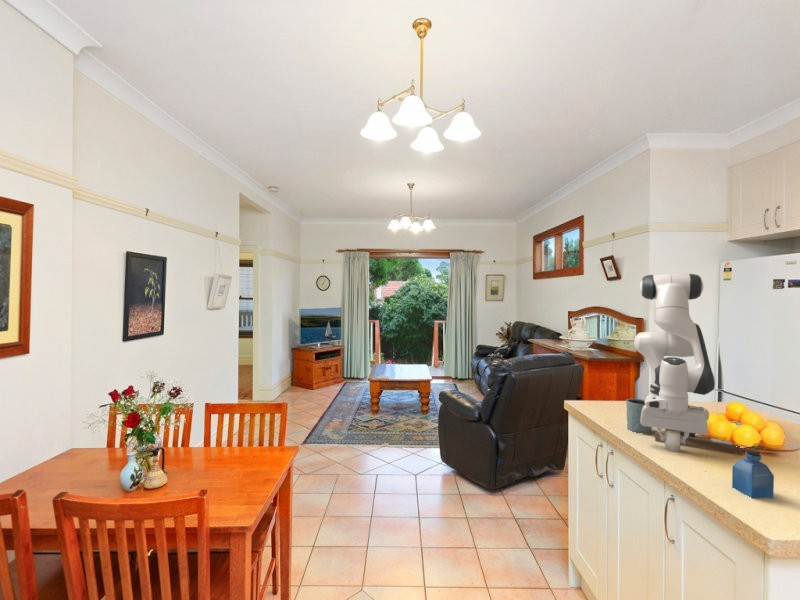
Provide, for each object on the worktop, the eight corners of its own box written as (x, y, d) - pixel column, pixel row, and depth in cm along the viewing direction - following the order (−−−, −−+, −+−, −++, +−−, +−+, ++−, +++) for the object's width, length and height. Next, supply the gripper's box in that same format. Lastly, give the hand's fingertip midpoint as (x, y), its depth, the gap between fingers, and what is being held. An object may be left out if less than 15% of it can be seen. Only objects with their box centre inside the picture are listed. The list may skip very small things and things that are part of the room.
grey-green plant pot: (623, 425, 175) (624, 397, 175) (650, 428, 172) (651, 399, 171) (628, 433, 165) (629, 403, 165) (657, 436, 162) (658, 405, 162)
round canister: (664, 446, 151) (664, 427, 151) (679, 448, 148) (679, 429, 148) (665, 450, 147) (665, 430, 147) (680, 452, 145) (680, 432, 145)
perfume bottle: (753, 487, 118) (753, 446, 118) (773, 498, 112) (774, 454, 112) (732, 487, 118) (732, 445, 118) (751, 498, 112) (752, 454, 112)
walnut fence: (655, 439, 158) (655, 430, 158) (741, 453, 145) (742, 442, 145) (655, 441, 156) (655, 431, 156) (743, 455, 143) (743, 444, 143)
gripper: (707, 405, 145) (707, 445, 145) (640, 398, 155) (639, 434, 155) (710, 409, 140) (709, 450, 140) (640, 401, 150) (640, 439, 150)
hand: (672, 442), depth 148 cm, fingers closed on round canister, 4 cm apart
